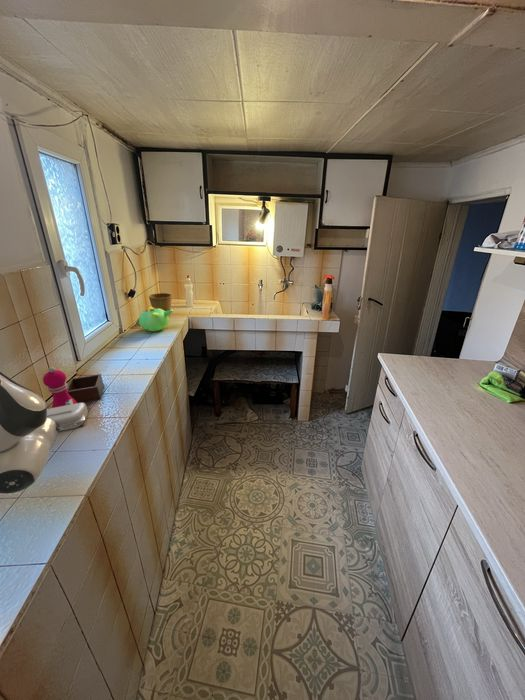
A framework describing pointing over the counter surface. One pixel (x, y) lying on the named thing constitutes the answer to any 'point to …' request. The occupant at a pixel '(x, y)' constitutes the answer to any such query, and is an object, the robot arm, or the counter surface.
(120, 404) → the counter surface
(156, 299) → the plant pot
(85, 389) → the mill holder
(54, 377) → the pepper mill
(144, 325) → the toy bird
